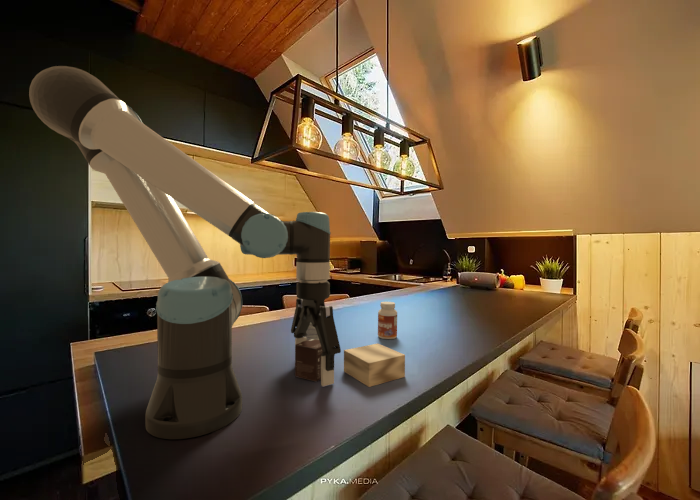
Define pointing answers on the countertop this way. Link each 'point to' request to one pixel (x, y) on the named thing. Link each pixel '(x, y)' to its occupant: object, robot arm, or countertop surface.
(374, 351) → the beech block
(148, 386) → the countertop surface
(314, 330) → the medicine box
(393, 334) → the pill bottle
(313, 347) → the box
